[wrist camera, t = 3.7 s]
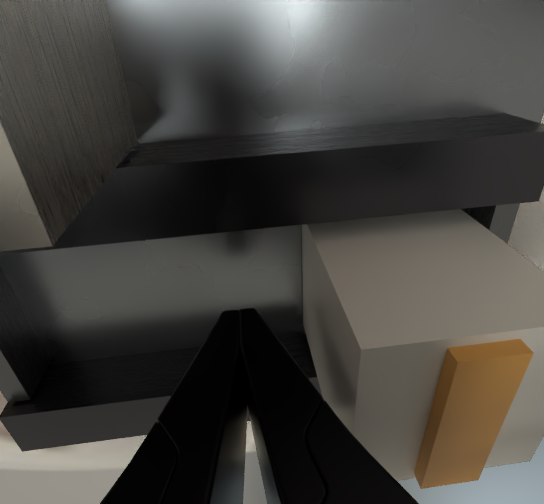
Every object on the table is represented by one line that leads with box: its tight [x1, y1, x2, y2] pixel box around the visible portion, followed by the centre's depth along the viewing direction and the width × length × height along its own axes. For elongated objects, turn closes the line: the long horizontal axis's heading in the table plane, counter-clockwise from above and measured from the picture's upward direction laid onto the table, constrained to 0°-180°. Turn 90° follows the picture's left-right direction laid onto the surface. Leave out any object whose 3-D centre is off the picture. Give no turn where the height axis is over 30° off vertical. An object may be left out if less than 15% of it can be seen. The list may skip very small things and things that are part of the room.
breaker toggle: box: [302, 209, 544, 489], centre depth 9 cm, size 4×4×5 cm
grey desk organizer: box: [0, 0, 544, 451], centre depth 8 cm, size 16×11×6 cm
